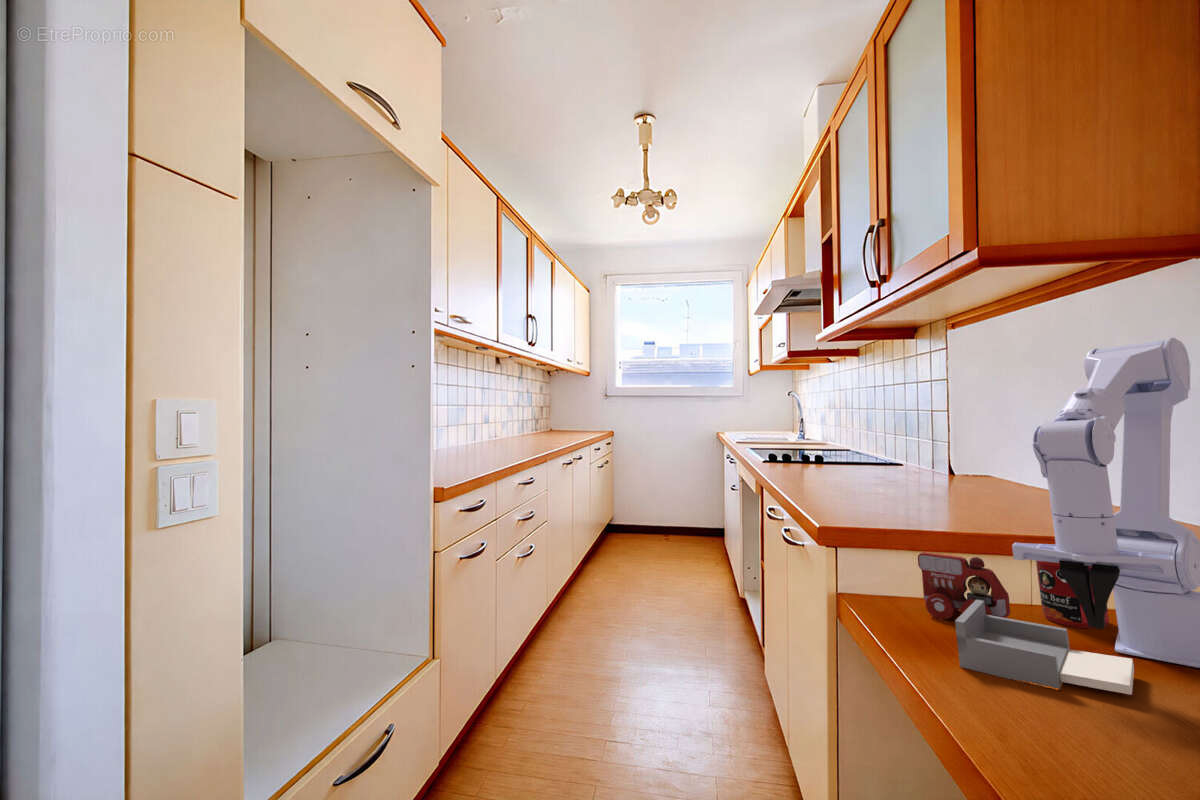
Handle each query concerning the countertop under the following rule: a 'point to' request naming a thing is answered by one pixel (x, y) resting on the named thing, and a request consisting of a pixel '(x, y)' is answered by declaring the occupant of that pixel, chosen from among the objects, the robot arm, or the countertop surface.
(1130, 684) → the panel
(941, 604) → the toy fire truck
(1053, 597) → the canned food
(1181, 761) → the countertop surface
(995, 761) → the countertop surface
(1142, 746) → the countertop surface
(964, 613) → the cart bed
